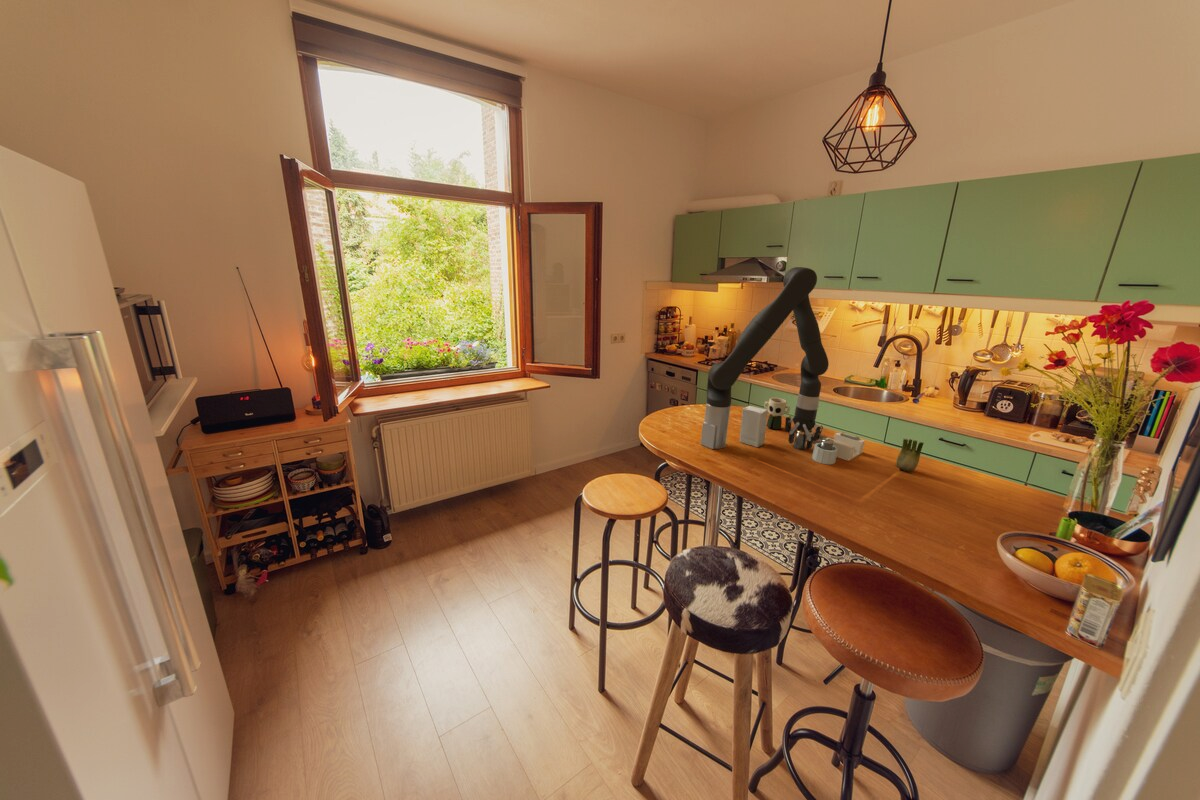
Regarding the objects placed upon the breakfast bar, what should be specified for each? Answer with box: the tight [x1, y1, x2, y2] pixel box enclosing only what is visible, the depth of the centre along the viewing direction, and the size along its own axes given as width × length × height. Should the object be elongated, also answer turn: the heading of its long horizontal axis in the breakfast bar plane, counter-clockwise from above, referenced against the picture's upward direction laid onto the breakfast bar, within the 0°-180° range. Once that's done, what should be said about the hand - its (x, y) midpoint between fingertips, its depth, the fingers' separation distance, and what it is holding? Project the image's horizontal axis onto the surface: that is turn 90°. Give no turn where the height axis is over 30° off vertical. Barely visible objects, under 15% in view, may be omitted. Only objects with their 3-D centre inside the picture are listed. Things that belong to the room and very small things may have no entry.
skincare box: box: [739, 405, 768, 448], centre depth 173 cm, size 8×6×15 cm
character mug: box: [763, 397, 791, 430], centre depth 190 cm, size 11×7×13 cm, turn 51°
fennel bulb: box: [895, 438, 925, 473], centre depth 153 cm, size 6×5×12 cm
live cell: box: [793, 430, 807, 451], centre depth 169 cm, size 4×4×8 cm
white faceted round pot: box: [811, 443, 838, 465], centre depth 159 cm, size 8×8×6 cm
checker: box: [829, 431, 865, 462], centre depth 166 cm, size 12×10×7 cm
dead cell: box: [820, 437, 834, 451], centre depth 158 cm, size 4×4×8 cm
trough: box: [806, 431, 833, 445], centre depth 177 cm, size 8×12×2 cm, turn 39°
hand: (799, 445), depth 169 cm, fingers open, 6 cm apart
